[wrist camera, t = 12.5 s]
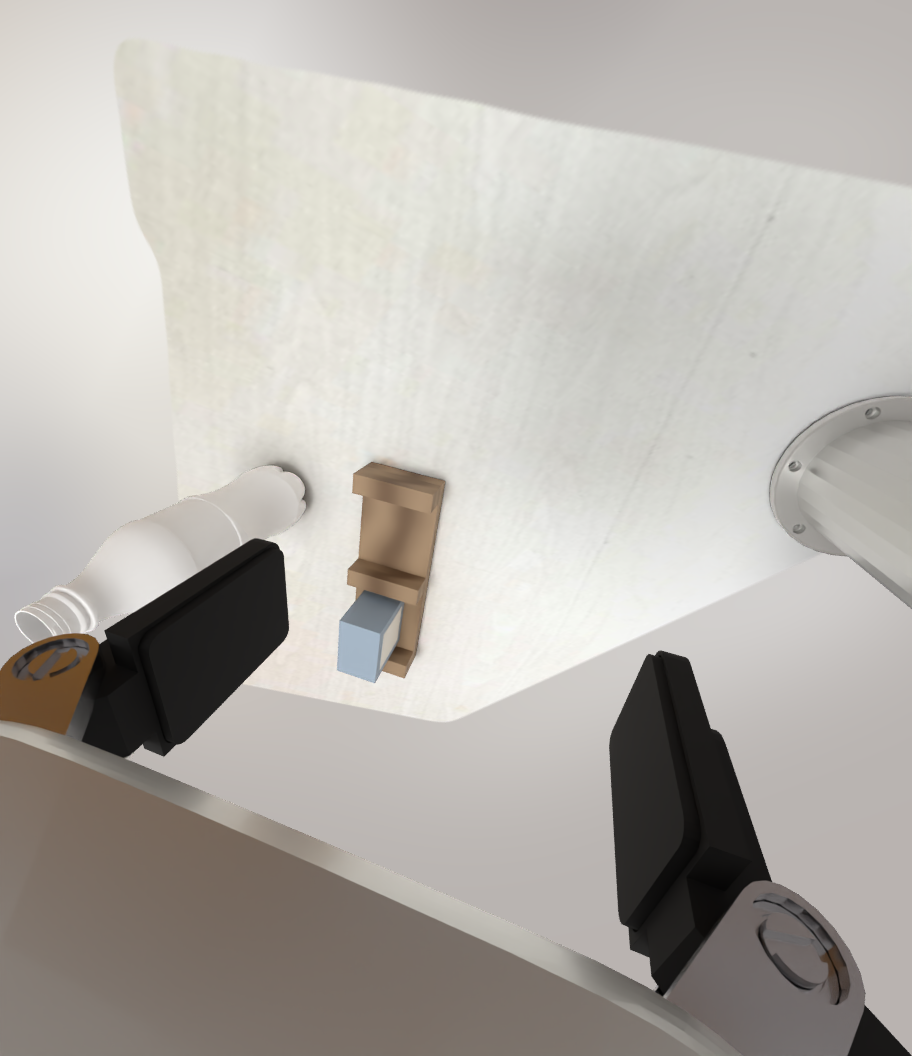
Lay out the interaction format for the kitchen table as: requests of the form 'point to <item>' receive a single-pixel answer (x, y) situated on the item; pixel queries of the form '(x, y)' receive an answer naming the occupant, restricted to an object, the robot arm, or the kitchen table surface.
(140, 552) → the water bottle
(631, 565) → the kitchen table surface
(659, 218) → the kitchen table surface
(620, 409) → the kitchen table surface
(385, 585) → the wooden divided rack
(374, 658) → the blue-grey rectangular block
